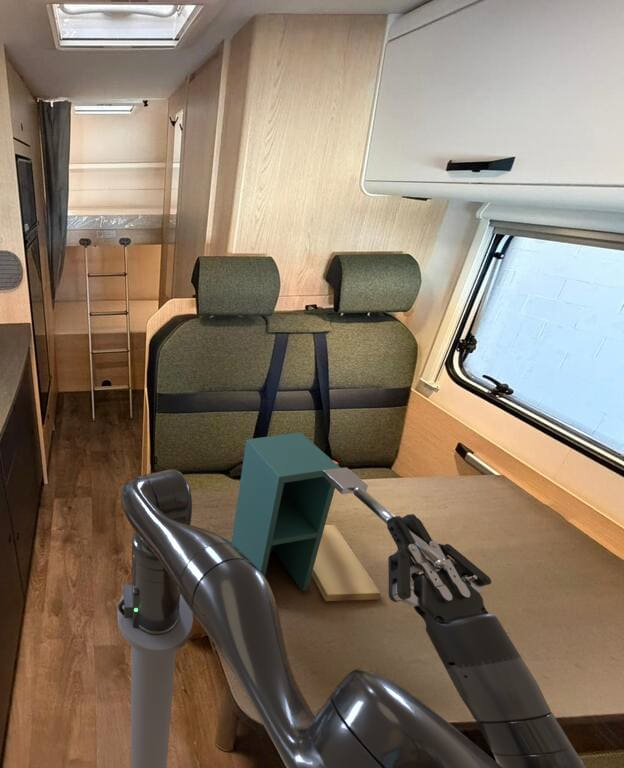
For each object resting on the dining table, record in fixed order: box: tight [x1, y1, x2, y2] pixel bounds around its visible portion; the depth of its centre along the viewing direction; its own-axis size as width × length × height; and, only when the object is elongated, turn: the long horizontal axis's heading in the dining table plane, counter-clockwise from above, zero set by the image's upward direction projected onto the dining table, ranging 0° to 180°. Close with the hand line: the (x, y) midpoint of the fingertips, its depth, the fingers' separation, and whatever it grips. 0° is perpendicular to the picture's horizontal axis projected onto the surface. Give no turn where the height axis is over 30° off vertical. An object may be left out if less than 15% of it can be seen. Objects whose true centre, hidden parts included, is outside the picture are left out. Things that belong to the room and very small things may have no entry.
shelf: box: [230, 432, 341, 592], centre depth 86 cm, size 12×12×32 cm
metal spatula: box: [322, 467, 448, 571], centre depth 61 cm, size 21×4×2 cm, turn 10°
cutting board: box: [311, 524, 381, 602], centre depth 94 cm, size 11×19×2 cm, turn 1°
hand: (399, 517), depth 58 cm, fingers closed on metal spatula, 1 cm apart
